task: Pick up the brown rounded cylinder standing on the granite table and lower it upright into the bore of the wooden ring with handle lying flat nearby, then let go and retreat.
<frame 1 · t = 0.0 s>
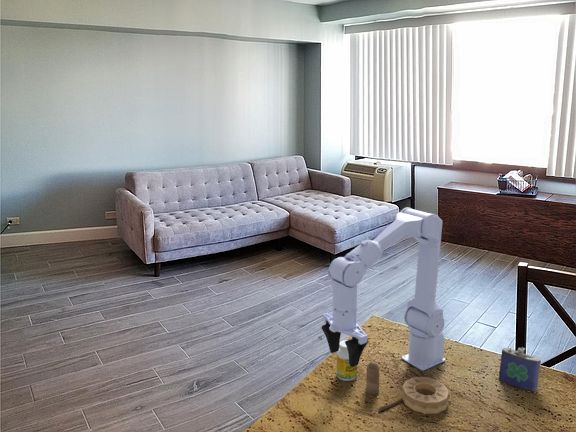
hand: (344, 358, 123), 10 cm above the countertop, tool pointing down, fingers open, 7 cm apart
flask: (517, 386, 128), on the countertop
wooden ring with handle: (424, 400, 122), on the countertop
brown rounded cylinder: (372, 391, 126), on the countertop
supplement bottle: (346, 376, 133), on the countertop
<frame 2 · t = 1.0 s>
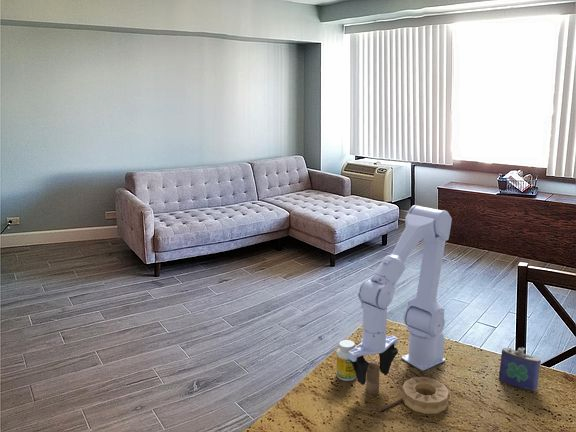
hand: (372, 377, 125), 4 cm above the countertop, tool pointing down, fingers open, 7 cm apart
nothing on the countertop moved.
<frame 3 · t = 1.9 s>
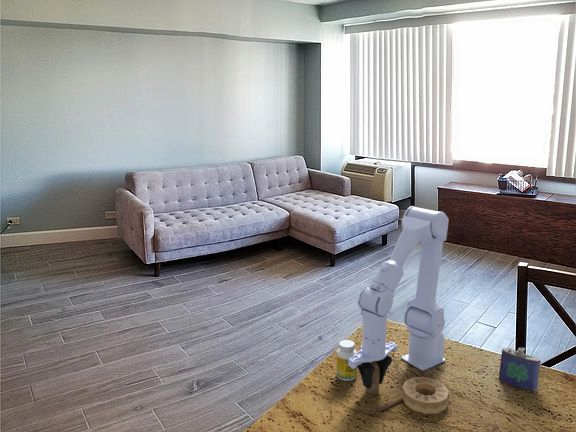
hand: (372, 384, 126), 2 cm above the countertop, tool pointing down, fingers closed on brown rounded cylinder, 3 cm apart
brown rounded cylinder: (372, 391, 126), on the countertop, touching gripper
everything else where it was.
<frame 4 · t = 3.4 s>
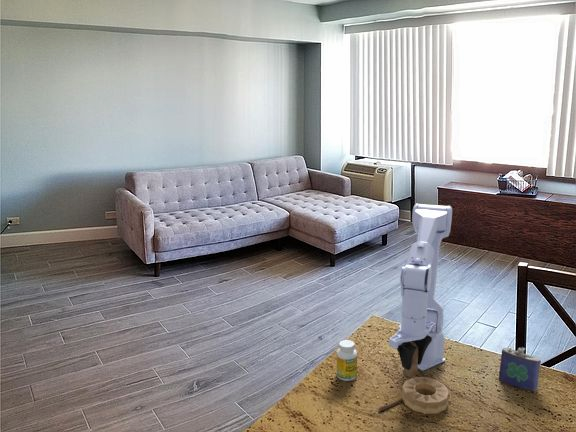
hand: (411, 365, 121), 9 cm above the countertop, tool pointing down, fingers closed on brown rounded cylinder, 3 cm apart
brown rounded cylinder: (410, 372, 122), point 7 cm above the countertop, touching gripper
everything else where it was.
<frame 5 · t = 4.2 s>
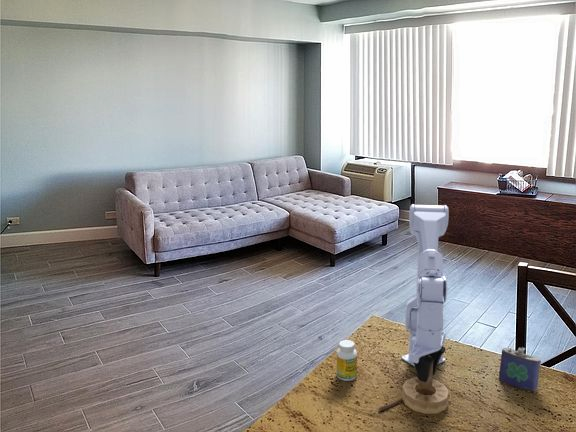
hand: (426, 377, 121), 6 cm above the countertop, tool pointing down, fingers closed on brown rounded cylinder, 3 cm apart
brown rounded cylinder: (425, 384, 121), point 4 cm above the countertop, touching gripper
everything else where it was.
when the fingers open (4 cm above the countertop, at t = 4.9 s): brown rounded cylinder drops 2 cm, resting in wooden ring with handle.
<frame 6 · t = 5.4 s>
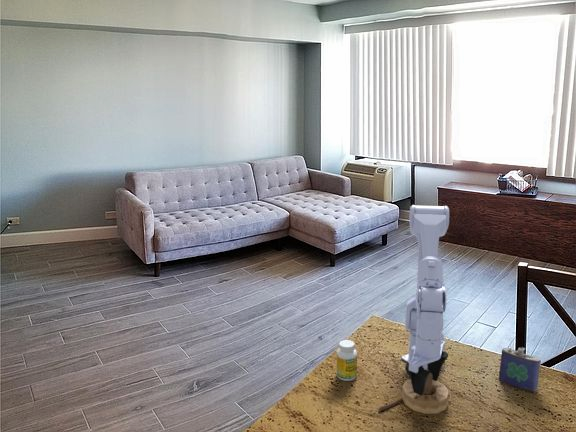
hand: (425, 385, 121), 4 cm above the countertop, tool pointing down, fingers open, 7 cm apart
brown rounded cylinder: (424, 399, 122), resting in wooden ring with handle
everything else where it was.
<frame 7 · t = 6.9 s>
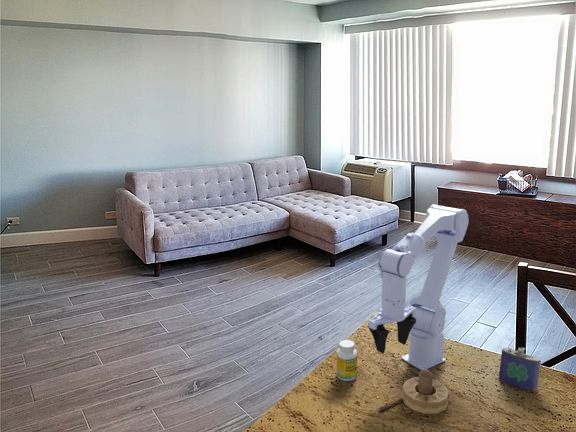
hand: (391, 347, 127), 10 cm above the countertop, tool pointing down, fingers open, 7 cm apart
nothing on the countertop moved.
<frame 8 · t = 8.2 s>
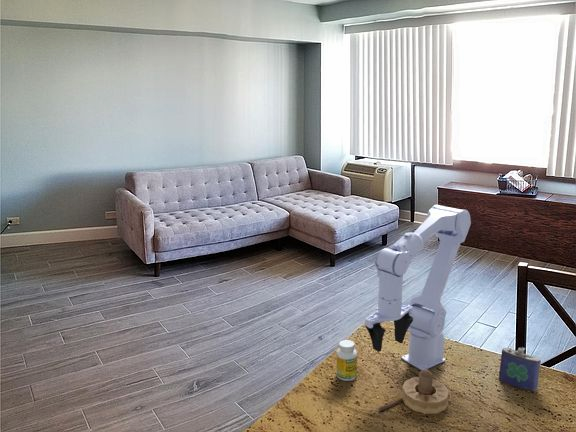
hand: (388, 345, 128), 10 cm above the countertop, tool pointing down, fingers open, 7 cm apart
nothing on the countertop moved.
at the end: brown rounded cylinder 0.1 cm off-centre on the wooden ring with handle, point 0.0 cm above the wooden ring with handle's base; brown rounded cylinder tilted 0°; the gripper is holding nothing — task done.
